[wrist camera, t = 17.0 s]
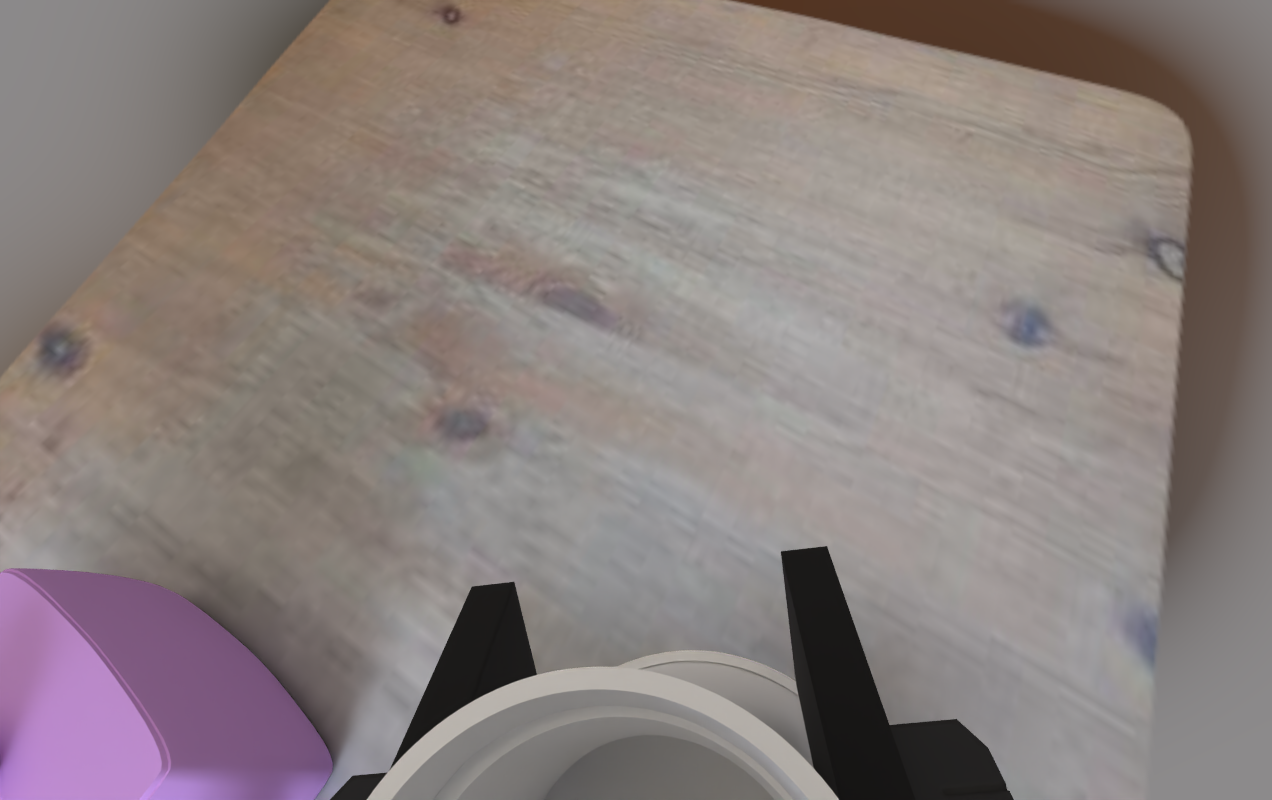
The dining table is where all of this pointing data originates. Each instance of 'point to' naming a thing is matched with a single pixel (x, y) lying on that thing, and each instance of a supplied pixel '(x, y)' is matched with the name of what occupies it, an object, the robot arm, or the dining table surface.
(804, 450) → the dining table surface
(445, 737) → the vase
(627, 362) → the dining table surface
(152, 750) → the teapot
